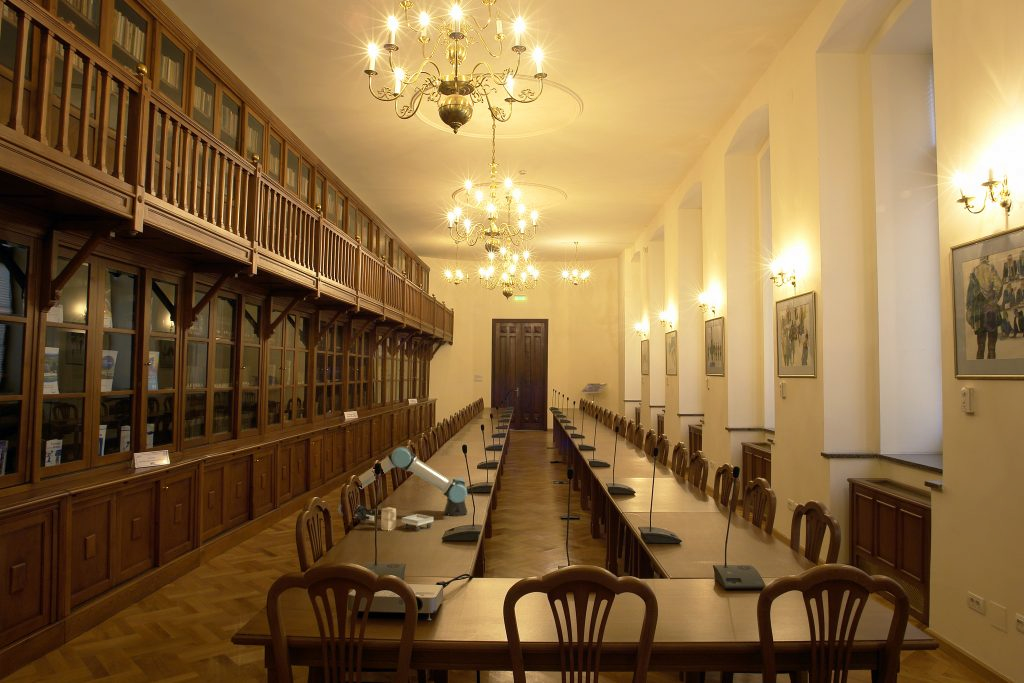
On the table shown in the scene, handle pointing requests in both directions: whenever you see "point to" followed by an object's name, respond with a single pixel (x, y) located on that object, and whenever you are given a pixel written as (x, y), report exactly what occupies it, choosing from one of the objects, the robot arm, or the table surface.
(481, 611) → the table surface
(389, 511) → the maple block
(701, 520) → the table surface
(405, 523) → the cart
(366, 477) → the robot arm
